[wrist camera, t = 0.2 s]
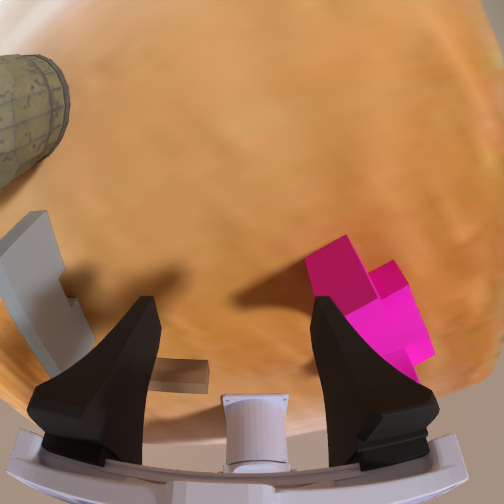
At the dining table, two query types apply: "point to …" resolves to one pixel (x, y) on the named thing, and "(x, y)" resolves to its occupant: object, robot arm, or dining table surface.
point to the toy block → (373, 304)
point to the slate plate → (42, 295)
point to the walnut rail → (180, 376)
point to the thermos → (30, 112)
